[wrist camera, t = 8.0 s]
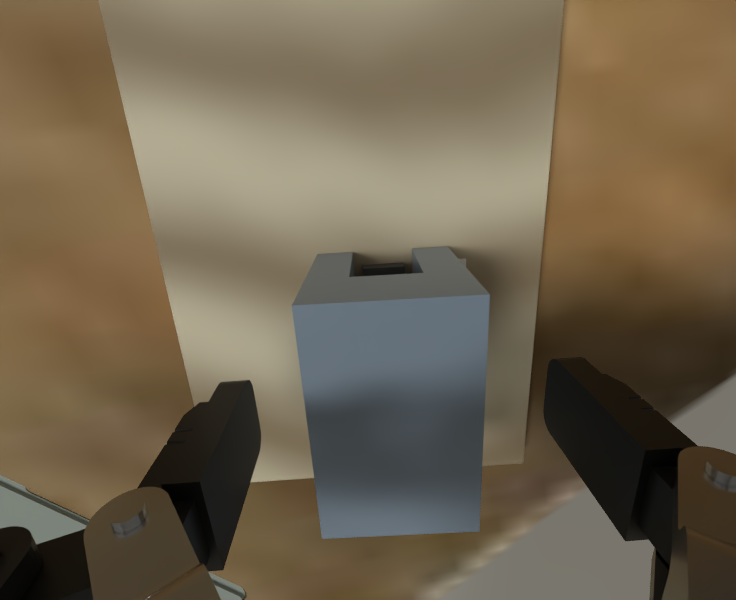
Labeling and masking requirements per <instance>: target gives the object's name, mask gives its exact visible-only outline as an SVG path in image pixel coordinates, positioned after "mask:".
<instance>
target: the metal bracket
mask: <svg viewBox="0 0 736 600" xmlns="http://www.w3.org/2000/svg"><path fill="white" fill-rule="evenodd" d="M89 521H90V520H89V519H87V518H85V517H82V516H80V515H78V514H76V513H74V512H72V511H70V510H67V509H65V508H63V507H61V506H59V505H57V504H55V503H52V502H50V501H48V500H46V499H44V498H42V497H40V496H37V495H35V494H33V493H31V492H29V491H28V490H26V488H25V486H23V485H20V484H18V483H16V482H14V481H12V480H10V479H8V478H5V477H3V476H1V475H0V528H5V527H10V526H20V527H24V528H27V529H28V530H29V531H30V532H31V534H32V536H33V539H34V541H35V543H36V544H39V543H43V542H46V541H49V540H52V539H55V538H58V537H61V536H64V535H68V534H71V533H74V532H77V531H80V530H83V529H85V528H86V526H87V524H88V522H89ZM208 573H209V572H208ZM209 575H210V577H211V579H212V581H213V583H214V585H215V588H216V590H217V592H218V594H219V596H220V598H221V600H242V599H243V598H244V596H245V591H244V590H243V588H242V587H239V586H237V585H235V584H233V583H231V582H229V581H226V580H224V579H222V578H220V577H218V576H216V575H214V574H211V573H209Z"/></svg>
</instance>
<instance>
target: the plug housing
mask: <svg viewBox="0 0 736 600" xmlns="http://www.w3.org/2000/svg"><path fill="white" fill-rule="evenodd" d="M489 304H490V294H489V293H488V292H487V290H486V289H485V288H484V287H483V286H482V285H481V284H480V283H479V281H478V280H477V279H476V278H475V277H474V276H473V275H472V274H471V272H470V271H469V270H468V269H467V268H466V267H465V266H464V265H463V263H462V262H461V261H460V260H459V259H458V258H457V257H456V256H455V254H454V253H453V252H452V251H451V250H450V249H449V248H448V247H430V248H413V249H412V273H411V274H394V275H376V276H359V277H355V276H354V263H353V252H345V253H328V254H317V256H316V258H315V260H314V262H313V264H312V266H311V268H310V270H309V272H308V274H307V276H306V278H305V280H304V282H303V284H302V286H301V288H300V290H299V292H298V294H297V296H296V298H295V300H294V302H293V304H292V312H293V320H294V328H295V335H296V343H297V350H298V358H299V366H300V373H301V381H302V388H303V396H304V404H305V411H306V419H307V427H308V434H309V442H310V449H311V457H312V465H313V472H314V480H315V487H316V495H317V503H318V510H319V518H320V526H321V533H322V539H327V538H349V537H370V536H391V535H413V534H434V533H455V532H477V531H479V528H480V506H481V483H482V461H483V439H484V416H485V394H486V372H487V349H488V327H489Z"/></svg>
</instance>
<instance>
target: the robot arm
mask: <svg viewBox="0 0 736 600" xmlns="http://www.w3.org/2000/svg"><path fill="white" fill-rule="evenodd" d="M544 419H545V423H546V426H547V429H548V431H549V432H550V434H551V435H552V437H553V438H554V440H555V441H556V443H557V444H558V445H559V447H560V448H561V450H562V451H563V453H564V454H565V455H566V457H567V458H568V460H569V461H570V463H571V464H572V465H573V467H574V468H575V470H576V471H577V473H578V474H579V475H580V477H581V478H582V480H583V481H584V483H585V484H586V486H587V487H588V488H589V490H590V491H591V493H592V494H593V496H594V497H595V498H596V500H597V501H598V503H599V504H600V505H601V507H602V508H603V510H604V511H605V513H606V514H607V515H608V517H609V519H610V520H611V521H612V523H613V524H614V526H615V527H616V529H617V530H618V531H619V533H620V534H621V536H622V537H623V539H624V540H625V541H634V540H646V539H649V540H650V542H651V543H652V544H653V546H654V547H655V549H654V552H653V556H652V564H651V580H650V598H649V600H736V455H735V454H733V453H730V452H727V451H724V450H720V449H716V448H711V447H703V446H702V447H701V446H697V445H696V444H695V443H694V442H693V441H691V440H690V439H689V438H688V437H687V436H686V435H684V434H683V433H682V432H681V431H680V430H679V429H677V428H676V427H675V426H674V425H673V424H672V423H670V422H669V421H668V420H667V419H666V418H665V417H663V416H662V415H661V414H660V413H659V412H658V411H656V410H655V411H654V410H653V407H652V406H651V405H649V404H648V403H647V402H646V401H645V400H641V397H640V396H639V395H638V394H637V393H635V392H634V391H633V390H632V389H631V388H630V387H628V386H627V385H626V384H624V383H622V382H620V381H618V380H616V379H614V378H612V377H610V376H608V375H606V374H601V373H600V372H599V371H598V370H597V369H596V368H594V367H593V366H592V365H591V364H590V363H589V362H588V361H587V360H586V359H584V358H582V357H575V358H561V359H552V360H551V361H550V363H549V365H548V372H547V381H546V390H545V400H544ZM260 447H261V428H260V422H259V417H258V411H257V406H256V401H255V395H254V390H253V386H252V383H251V381H250V380H241V381H226V382H220V383H219V384H218V386H217V388H216V390H215V391H214V393H213V395H212V396H211V398H210V400H209V402H200V403H198V404H197V405H196V406H195V407H193V408H192V409H191V410H190V411H189V412H187V413H186V414H185V415H184V416H183V418H182V419H181V421H180V422H179V424H178V425H177V427H176V428H175V432H173V433H172V435H171V436H170V438H169V439H168V441H167V445H165V446H164V447H163V449H162V450H161V452H160V454H159V455H158V457H157V458H156V460H155V461H154V463H153V464H152V466H151V468H150V469H149V471H148V472H147V474H146V475H145V477H144V479H143V480H142V482H141V483H140V485H139V486H138V488H137V489H134V490H131V491H128V492H126V493H123V494H121V495H119V496H117V497H115V498H114V499H112V500H111V501H109V502H108V503H106V504H105V505H104V506H103V507H101V508H100V509H99V510H98V511H97V512H96V513H95V514H94V516H93V517H92V518H91V519H90V521H89V522H88V524H87V526H86V528H85V529H83V530H80V531H77V532H74V533H71V534H68V535H64V536H61V537H58V538H55V539H52V540H49V541H46V542H43V543H39V544H36V543H35V541H34V539H33V536H32V534H31V532H30V531H29V530H28V529H27V528H24V527H20V526H10V527H5V528H0V600H221V598H220V596H219V594H218V592H217V590H216V588H215V585H214V583H213V581H212V579H211V577H210V575H209V573H208V571H217V570H223V569H224V566H225V562H226V559H227V556H228V553H229V549H230V546H231V543H232V540H233V537H234V533H235V530H236V527H237V524H238V520H239V517H240V514H241V511H242V507H243V504H244V501H245V498H246V495H247V491H248V488H249V485H250V482H251V478H252V475H253V472H254V469H255V466H256V462H257V459H258V456H259V452H260Z"/></svg>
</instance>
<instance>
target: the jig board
mask: <svg viewBox="0 0 736 600" xmlns="http://www.w3.org/2000/svg"><path fill="white" fill-rule="evenodd" d="M98 1H99V5H100V9H101V13H102V18H103V22H104V26H105V30H106V35H107V39H108V43H109V47H110V51H111V56H112V60H113V64H114V68H115V73H116V77H117V81H118V85H119V89H120V94H121V98H122V102H123V106H124V111H125V115H126V119H127V123H128V128H129V132H130V136H131V140H132V144H133V149H134V153H135V157H136V161H137V166H138V170H139V174H140V178H141V182H142V187H143V191H144V195H145V199H146V204H147V208H148V212H149V216H150V221H151V225H152V229H153V233H154V237H155V242H156V246H157V250H158V254H159V259H160V263H161V267H162V271H163V275H164V280H165V284H166V288H167V292H168V297H169V301H170V305H171V309H172V313H173V318H174V322H175V326H176V330H177V335H178V339H179V343H180V347H181V352H182V356H183V360H184V364H185V368H186V373H187V377H188V381H189V385H190V390H191V394H192V398H193V402H194V406H196V405H197V404H198V403H200V402H209V400H210V398H211V396H212V395H213V393H214V391H215V390H216V388H217V386H218V384H219V383H220V382H226V381H241V380H250V381H251V383H252V386H253V390H254V395H255V401H256V406H257V411H258V417H259V422H260V428H261V447H260V452H259V456H258V459H257V462H256V466H255V469H254V472H253V475H252V478H251V482H260V481H274V480H289V479H303V478H314V472H313V465H312V457H311V449H310V442H309V434H308V427H307V419H306V411H305V404H304V396H303V388H302V381H301V373H300V366H299V358H298V350H297V343H296V335H295V328H294V320H293V312H292V304H293V302H294V300H295V298H296V296H297V294H298V292H299V290H300V288H301V286H302V284H303V282H304V280H305V278H306V276H307V274H308V272H309V270H310V268H311V266H312V264H313V262H314V260H315V258H316V256H317V254H328V253H345V252H353V263H354V276H355V277H359V276H376V275H394V274H411V273H412V249H413V248H430V247H448V248H449V249H450V250H451V251H452V252H453V253H454V254H455V256H456V257H457V258H458V259H459V260H460V261H461V262H462V263H463V265H464V266H465V267H466V268H467V269H468V270H469V271H470V272H471V274H472V275H473V276H474V277H475V278H476V279H477V280H478V281H479V283H480V284H481V285H482V286H483V287H484V288H485V289H486V290H487V292H488V293H489V294H490V304H489V327H488V349H487V372H486V394H485V416H484V439H483V461H482V466H490V465H504V464H518V463H523V458H524V446H525V435H526V424H527V413H528V402H529V390H530V379H531V368H532V357H533V346H534V334H535V323H536V312H537V301H538V290H539V279H540V267H541V256H542V245H543V234H544V223H545V211H546V200H547V189H548V178H549V167H550V155H551V144H552V133H553V122H554V111H555V99H556V88H557V77H558V66H559V55H560V43H561V32H562V21H563V10H564V0H98Z"/></svg>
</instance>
